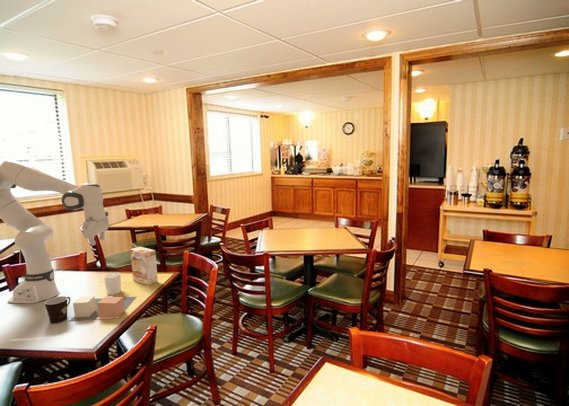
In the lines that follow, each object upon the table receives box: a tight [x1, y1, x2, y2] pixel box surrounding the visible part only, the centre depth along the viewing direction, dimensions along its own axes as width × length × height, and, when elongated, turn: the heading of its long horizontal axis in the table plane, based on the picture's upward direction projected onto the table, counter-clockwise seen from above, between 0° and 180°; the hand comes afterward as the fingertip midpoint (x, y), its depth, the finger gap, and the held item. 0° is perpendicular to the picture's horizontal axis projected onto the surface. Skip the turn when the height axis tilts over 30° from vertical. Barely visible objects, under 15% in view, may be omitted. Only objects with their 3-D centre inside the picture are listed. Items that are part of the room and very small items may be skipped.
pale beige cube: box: [72, 296, 96, 317], centre depth 162 cm, size 7×7×7 cm
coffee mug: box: [44, 295, 71, 325], centre depth 158 cm, size 12×9×10 cm
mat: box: [69, 296, 137, 322], centre depth 168 cm, size 22×24×1 cm
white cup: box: [103, 272, 122, 296], centre depth 187 cm, size 8×8×10 cm
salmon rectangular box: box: [97, 296, 126, 318], centre depth 161 cm, size 7×9×7 cm
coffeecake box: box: [129, 246, 159, 286], centre depth 202 cm, size 15×7×20 cm, turn 55°
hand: (97, 242), depth 173 cm, fingers open, 8 cm apart
